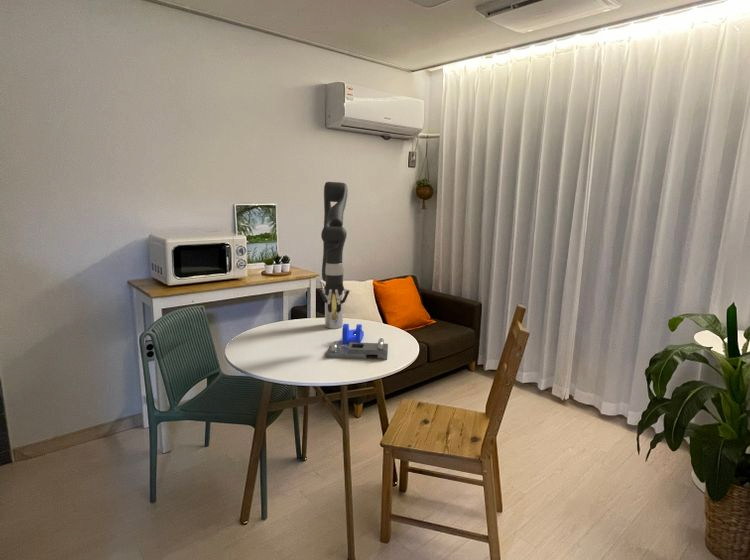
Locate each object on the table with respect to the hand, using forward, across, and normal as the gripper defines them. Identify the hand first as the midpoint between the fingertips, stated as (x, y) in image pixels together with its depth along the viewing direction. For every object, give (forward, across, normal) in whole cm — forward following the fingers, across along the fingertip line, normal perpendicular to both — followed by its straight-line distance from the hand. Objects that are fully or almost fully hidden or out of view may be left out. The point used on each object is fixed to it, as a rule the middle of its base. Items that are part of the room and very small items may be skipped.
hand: (334, 312), depth 193 cm
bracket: (+18, -6, -18) cm, 26 cm away
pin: (+3, 0, 0) cm, 3 cm away
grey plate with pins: (+18, -11, +4) cm, 21 cm away
